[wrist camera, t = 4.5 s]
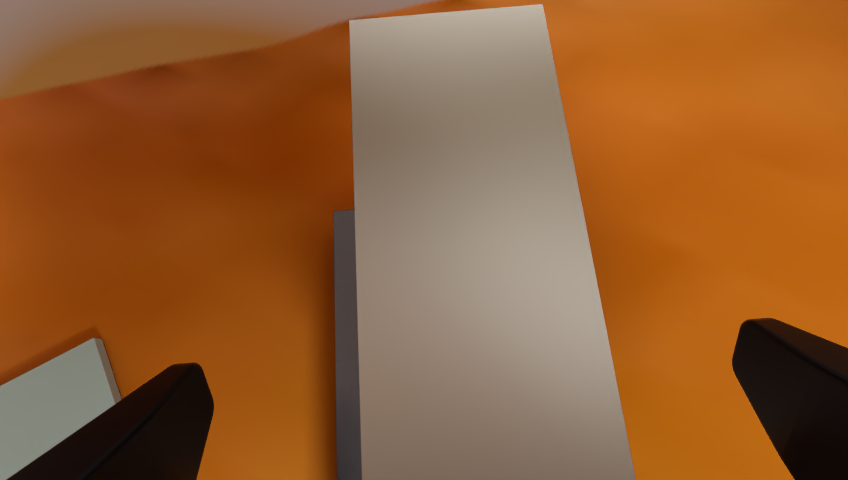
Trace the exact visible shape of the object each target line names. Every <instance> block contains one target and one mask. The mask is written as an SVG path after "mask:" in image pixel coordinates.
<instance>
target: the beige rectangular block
mask: <svg viewBox="0 0 848 480" xmlns="http://www.w3.org/2000/svg"><path fill="white" fill-rule="evenodd" d="M349 28H350V64H351V100H352V136H353V172H354V207H355V243H356V279H357V315H358V351H359V387H360V423H361V459H362V480H636V478H635V473H634V468H633V463H632V458H631V453H630V448H629V443H628V438H627V433H626V427H625V422H624V417H623V412H622V407H621V402H620V397H619V392H618V387H617V382H616V376H615V371H614V366H613V361H612V356H611V351H610V346H609V341H608V336H607V330H606V325H605V320H604V315H603V310H602V305H601V300H600V295H599V290H598V285H597V279H596V274H595V269H594V264H593V259H592V254H591V249H590V244H589V239H588V233H587V228H586V223H585V218H584V213H583V208H582V203H581V198H580V193H579V188H578V182H577V177H576V172H575V167H574V162H573V157H572V152H571V147H570V142H569V136H568V131H567V126H566V121H565V116H564V111H563V106H562V101H561V96H560V91H559V85H558V80H557V75H556V70H555V65H554V60H553V55H552V50H551V45H550V39H549V34H548V29H547V24H546V19H545V14H544V9H543V4H539V5H527V6H515V7H503V8H491V9H479V10H467V11H455V12H443V13H431V14H420V15H408V16H396V17H384V18H372V19H360V20H349Z"/></svg>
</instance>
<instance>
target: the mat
mask: <svg viewBox="0 0 848 480" xmlns="http://www.w3.org/2000/svg"><path fill="white" fill-rule="evenodd" d="M120 400H122V399H121V396H120V393H119V390H118V387H117V384H116V381H115V378H114V375H113V371H112V368H111V365H110V362H109V359H108V356H107V353H106V350H105V347H104V344H103V341H102V339H98V338H92V339H90V340H88V341H86V342H84V343H82V344H81V345H79V346H77V347H75V348H73V349H71V350H69V351H67V352H65V353H63V354H61V355H59V356H57V357H55V358H53V359H51V360H50V361H48V362H46V363H44V364H42V365H40V366H38V367H36V368H34V369H32V370H30V371H28V372H26V373H24V374H22V375H20V376H19V377H17V378H15V379H13V380H11V381H9V382H7V383H5V384H3V385H1V386H0V480H6V479H8V478H9V477H11V476H12V475H14V474H15V473H16V472H18V471H19V470H21V469H22V468H24V467H25V466H27V465H28V464H29V463H31V462H32V461H34V460H35V459H37V458H38V457H40V456H41V455H42V454H44V453H45V452H47V451H48V450H50V449H51V448H53V447H54V446H55V445H57V444H58V443H60V442H61V441H63V440H64V439H66V438H67V437H68V436H70V435H71V434H73V433H74V432H76V431H77V430H79V429H80V428H81V427H83V426H84V425H86V424H87V423H89V422H90V421H92V420H93V419H94V418H96V417H97V416H99V415H100V414H102V413H103V412H105V411H106V410H107V409H109V408H110V407H112V406H113V405H115V404H116V403H117V402H119V401H120Z"/></svg>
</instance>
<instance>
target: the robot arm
mask: <svg viewBox="0 0 848 480" xmlns="http://www.w3.org/2000/svg"><path fill="white" fill-rule="evenodd" d="M732 366H733V370H734V373H735V375H736V377H737V379H738V381H739V383H740V385H741V386H742V388H743V390H744V392H745V394H746V396H747V397H748V399H749V401H750V403H751V405H752V407H753V409H754V410H755V412H756V414H757V416H758V418H759V420H760V421H761V423H762V425H763V427H764V429H765V431H766V433H767V434H768V436H769V438H770V440H771V442H772V444H773V445H774V447H775V449H776V450H777V452H778V454H779V456H780V457H781V459H782V461H783V462H784V464H785V465H786V467H787V468H788V470H789V472H790V473H791V475H792V476H793V478H794V479H795V480H848V348H846V347H843V346H841V345H838V344H836V343H833V342H831V341H828V340H826V339H823V338H821V337H818V336H816V335H813V334H811V333H808V332H806V331H803V330H801V329H799V328H796V327H794V326H791V325H789V324H786V323H784V322H781V321H779V320H776V319H773V318H761V319H749V320H746V321H744V322H743V323H742V325H741V327H740V330H739V334H738V338H737V342H736V346H735V350H734V354H733V358H732ZM213 411H214V403H213V398H212V395H211V392H210V389H209V386H208V383H207V381H206V378H205V375H204V372H203V370H202V367H201V366H200V365H199V364H197V363H183V364H174V365H171V366H170V367H168V368H167V369H165V370H164V371H162V372H161V373H159V374H158V375H156V376H155V377H154V378H152V379H151V380H149V381H148V382H146V383H145V384H143V385H142V386H141V387H139V388H138V389H136V390H135V391H133V392H132V393H130V394H129V395H128V396H126V397H125V398H123V399H122V400H120V401H119V402H117V403H116V404H115V405H113V406H112V407H110V408H109V409H107V410H106V411H105V412H103V413H102V414H100V415H99V416H97V417H96V418H94V419H93V420H92V421H90V422H89V423H87V424H86V425H84V426H83V427H81V428H80V429H79V430H77V431H76V432H74V433H73V434H71V435H70V436H68V437H67V438H66V439H64V440H63V441H61V442H60V443H58V444H57V445H55V446H54V447H53V448H51V449H50V450H48V451H47V452H45V453H44V454H42V455H41V456H40V457H38V458H37V459H35V460H34V461H32V462H31V463H29V464H28V465H27V466H25V467H24V468H22V469H21V470H19V471H18V472H16V473H15V474H14V475H12V476H11V477H9V478H8V479H6V480H196V479H197V475H198V471H199V467H200V463H201V459H202V456H203V452H204V448H205V444H206V440H207V436H208V432H209V428H210V424H211V420H212V417H213Z"/></svg>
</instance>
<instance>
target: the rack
mask: <svg viewBox="0 0 848 480" xmlns="http://www.w3.org/2000/svg"><path fill="white" fill-rule="evenodd" d="M334 282H335V362H336V443H337V480H362V459H361V423H360V387H359V351H358V315H357V279H356V243H355V210H345V211H334Z"/></svg>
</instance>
